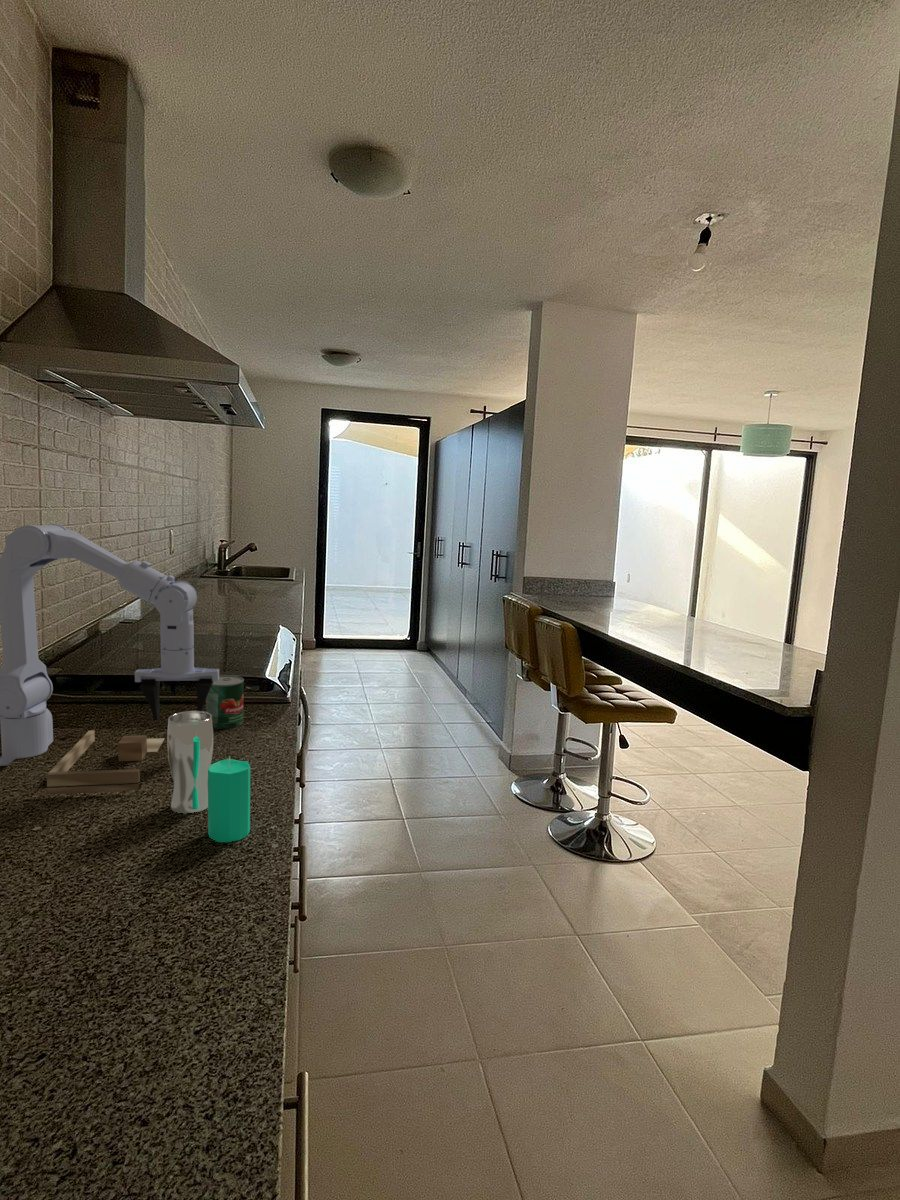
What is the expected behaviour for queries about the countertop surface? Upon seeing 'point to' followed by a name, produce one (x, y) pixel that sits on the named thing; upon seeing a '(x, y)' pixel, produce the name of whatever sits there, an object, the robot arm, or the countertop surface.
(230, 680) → the canned tomato
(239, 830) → the candle
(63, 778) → the wooden flat frame
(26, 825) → the countertop surface
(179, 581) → the robot arm
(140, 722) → the countertop surface
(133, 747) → the block
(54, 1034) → the countertop surface
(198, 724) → the beer glass
